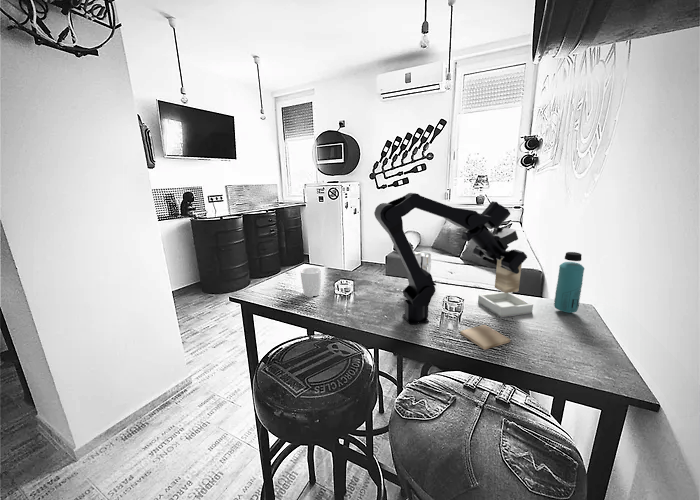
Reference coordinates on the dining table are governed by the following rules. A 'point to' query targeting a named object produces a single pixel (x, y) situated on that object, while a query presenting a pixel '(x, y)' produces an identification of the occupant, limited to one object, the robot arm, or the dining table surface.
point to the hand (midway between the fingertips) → (511, 270)
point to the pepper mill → (507, 279)
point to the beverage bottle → (569, 284)
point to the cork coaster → (485, 337)
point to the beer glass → (424, 260)
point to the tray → (505, 304)
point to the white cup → (311, 281)
